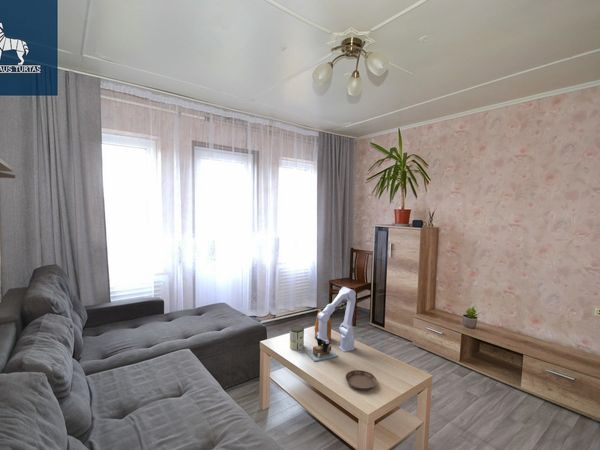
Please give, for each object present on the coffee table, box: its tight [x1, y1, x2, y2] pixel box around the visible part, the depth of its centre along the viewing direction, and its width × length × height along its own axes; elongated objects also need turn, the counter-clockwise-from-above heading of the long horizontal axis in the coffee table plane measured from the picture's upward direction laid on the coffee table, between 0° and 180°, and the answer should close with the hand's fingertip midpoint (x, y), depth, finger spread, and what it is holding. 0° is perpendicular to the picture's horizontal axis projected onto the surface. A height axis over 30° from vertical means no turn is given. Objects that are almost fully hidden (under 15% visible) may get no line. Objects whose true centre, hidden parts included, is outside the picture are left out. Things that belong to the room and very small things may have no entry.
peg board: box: [306, 348, 339, 363], centre depth 192 cm, size 18×12×4 cm, turn 113°
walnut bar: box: [312, 344, 332, 357], centre depth 192 cm, size 12×4×5 cm, turn 114°
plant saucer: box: [345, 369, 378, 392], centre depth 162 cm, size 18×18×3 cm
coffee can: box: [289, 324, 305, 351], centre depth 203 cm, size 10×10×14 cm
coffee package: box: [314, 309, 333, 342], centre depth 217 cm, size 10×12×22 cm
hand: (322, 349), depth 192 cm, fingers open, 7 cm apart
